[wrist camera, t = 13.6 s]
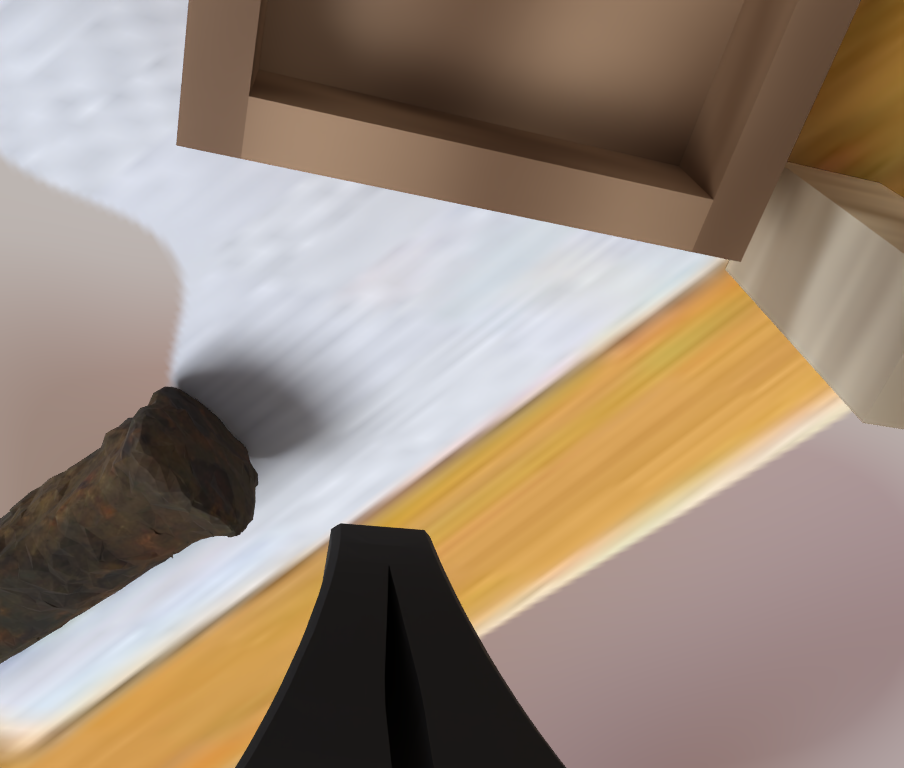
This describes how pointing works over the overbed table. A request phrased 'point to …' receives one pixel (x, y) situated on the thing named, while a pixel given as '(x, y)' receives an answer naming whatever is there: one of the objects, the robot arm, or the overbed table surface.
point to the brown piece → (523, 102)
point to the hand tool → (120, 515)
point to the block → (835, 283)
